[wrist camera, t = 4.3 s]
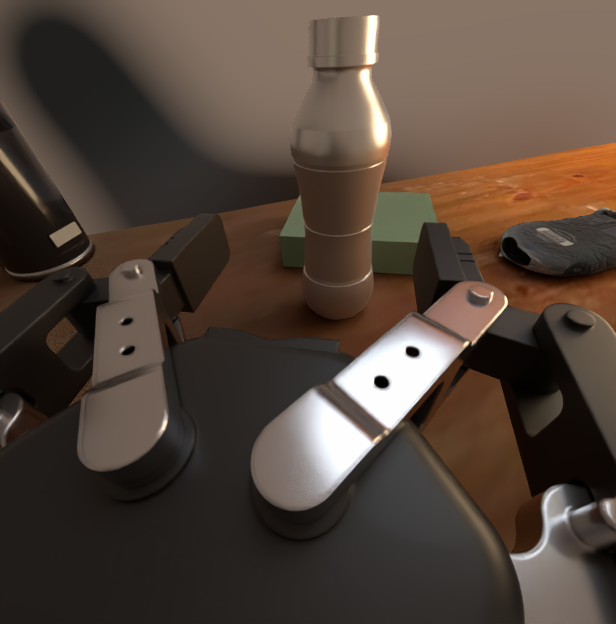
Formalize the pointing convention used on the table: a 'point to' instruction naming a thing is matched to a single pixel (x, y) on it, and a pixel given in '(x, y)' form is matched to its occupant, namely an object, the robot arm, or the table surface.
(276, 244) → the table surface
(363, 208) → the silver metal bottle
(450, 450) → the table surface
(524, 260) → the dark grey hollow sleeve
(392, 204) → the riser
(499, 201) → the table surface
